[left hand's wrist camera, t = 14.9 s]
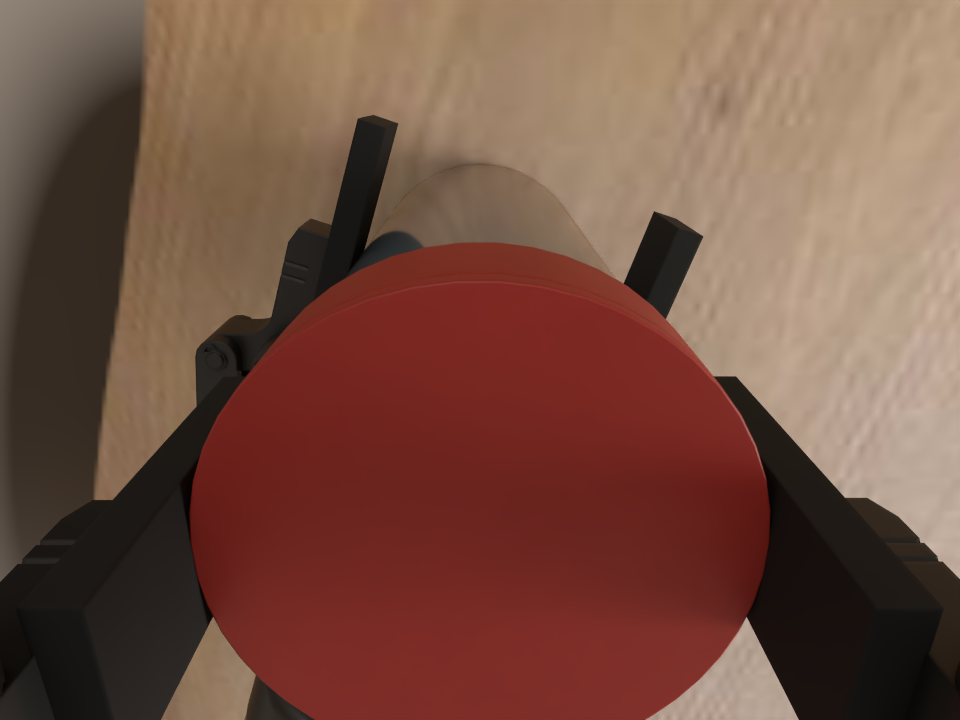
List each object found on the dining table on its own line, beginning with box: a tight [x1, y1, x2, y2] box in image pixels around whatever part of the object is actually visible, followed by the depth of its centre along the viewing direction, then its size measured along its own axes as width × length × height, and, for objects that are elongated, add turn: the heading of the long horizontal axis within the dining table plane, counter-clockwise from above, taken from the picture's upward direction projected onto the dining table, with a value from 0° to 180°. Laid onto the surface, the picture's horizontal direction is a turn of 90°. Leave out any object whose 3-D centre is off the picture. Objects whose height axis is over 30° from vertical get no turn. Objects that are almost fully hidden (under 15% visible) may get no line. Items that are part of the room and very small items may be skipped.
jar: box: [343, 164, 617, 280], centre depth 19 cm, size 8×8×17 cm
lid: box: [189, 242, 770, 720], centre depth 11 cm, size 9×9×2 cm
